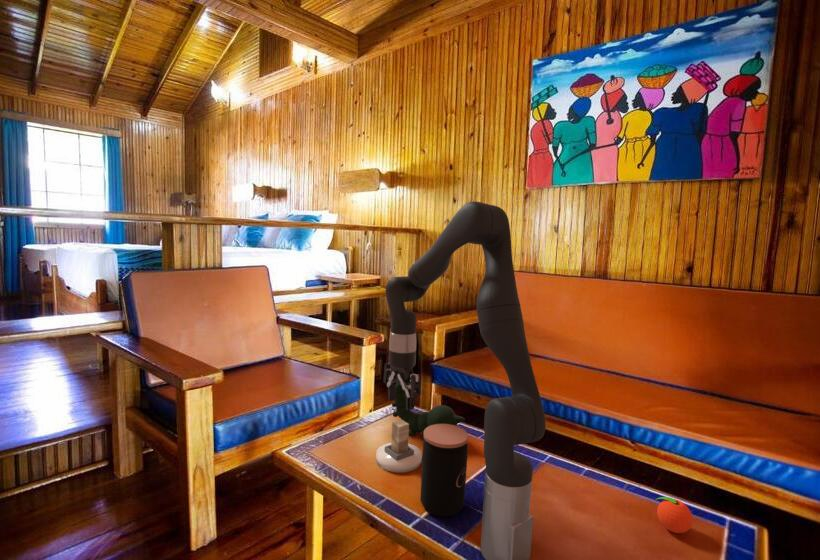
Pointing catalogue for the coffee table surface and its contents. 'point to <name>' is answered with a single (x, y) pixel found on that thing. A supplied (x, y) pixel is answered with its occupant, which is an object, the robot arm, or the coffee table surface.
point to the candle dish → (398, 459)
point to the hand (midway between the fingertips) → (400, 404)
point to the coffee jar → (444, 469)
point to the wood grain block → (399, 436)
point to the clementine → (674, 515)
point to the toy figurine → (423, 414)
